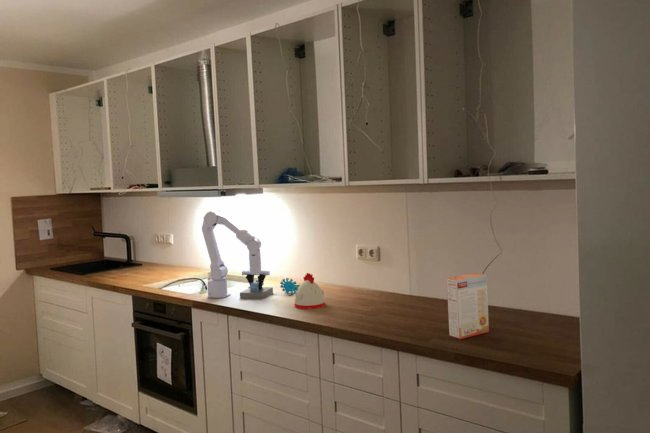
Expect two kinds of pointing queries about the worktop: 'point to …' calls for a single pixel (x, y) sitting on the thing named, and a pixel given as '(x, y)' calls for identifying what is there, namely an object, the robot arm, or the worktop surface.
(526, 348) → the worktop surface
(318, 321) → the worktop surface
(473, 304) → the cracker box
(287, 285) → the gear
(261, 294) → the chassis
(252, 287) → the servo
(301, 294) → the white and red dome
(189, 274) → the worktop surface
